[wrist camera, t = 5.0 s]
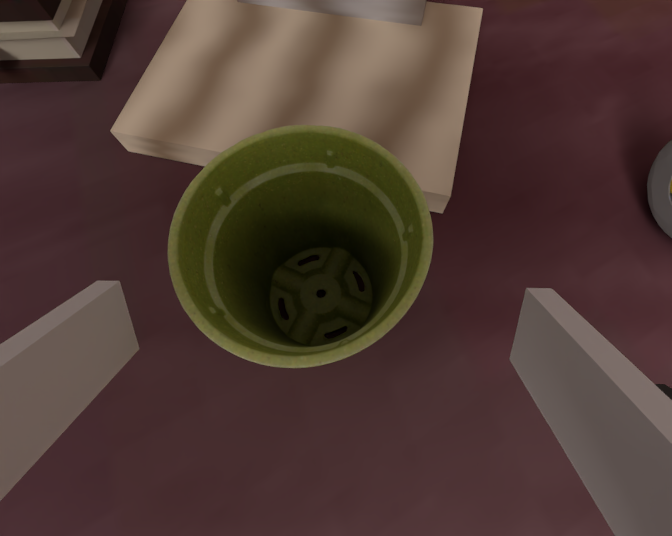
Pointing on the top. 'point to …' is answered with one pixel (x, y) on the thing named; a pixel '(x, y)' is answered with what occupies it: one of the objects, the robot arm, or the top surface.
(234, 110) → the shelf board
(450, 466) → the top surface
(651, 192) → the pocket watch
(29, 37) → the decorative book
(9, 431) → the robot arm
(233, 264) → the plant pot
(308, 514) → the top surface
